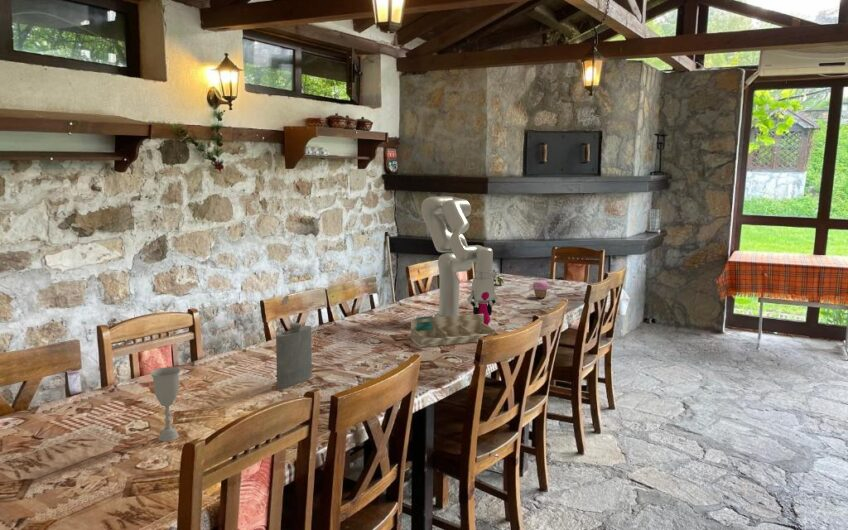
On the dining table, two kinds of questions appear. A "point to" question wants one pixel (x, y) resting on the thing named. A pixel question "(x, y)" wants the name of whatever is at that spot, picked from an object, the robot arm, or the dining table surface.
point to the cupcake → (540, 288)
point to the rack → (448, 330)
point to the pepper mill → (484, 308)
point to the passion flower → (497, 277)
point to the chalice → (166, 396)
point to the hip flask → (293, 356)
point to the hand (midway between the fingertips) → (482, 314)
